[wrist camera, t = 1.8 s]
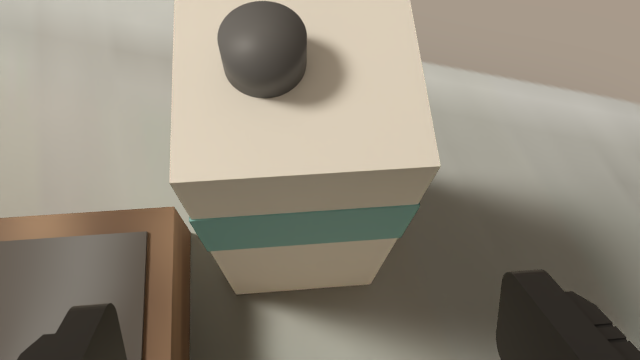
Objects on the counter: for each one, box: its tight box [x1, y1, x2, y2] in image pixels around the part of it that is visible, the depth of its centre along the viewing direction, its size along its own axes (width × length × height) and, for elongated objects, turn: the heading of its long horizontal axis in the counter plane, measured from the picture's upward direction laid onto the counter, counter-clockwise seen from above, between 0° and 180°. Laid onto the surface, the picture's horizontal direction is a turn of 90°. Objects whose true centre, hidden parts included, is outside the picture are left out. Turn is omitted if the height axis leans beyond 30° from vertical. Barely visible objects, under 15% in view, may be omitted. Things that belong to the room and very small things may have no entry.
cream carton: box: [170, 0, 441, 295], centre depth 18 cm, size 6×6×14 cm
